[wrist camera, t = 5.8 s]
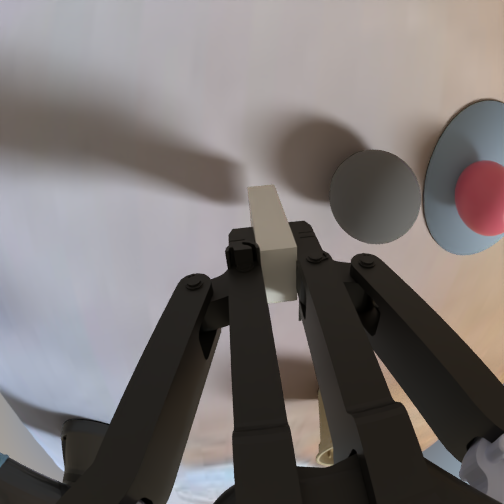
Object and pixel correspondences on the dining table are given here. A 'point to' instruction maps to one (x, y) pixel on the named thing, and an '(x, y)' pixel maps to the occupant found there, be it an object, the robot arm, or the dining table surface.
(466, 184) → the cranberry ball
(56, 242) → the dining table surface
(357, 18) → the dining table surface
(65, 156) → the dining table surface
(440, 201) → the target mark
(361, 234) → the grey ball
